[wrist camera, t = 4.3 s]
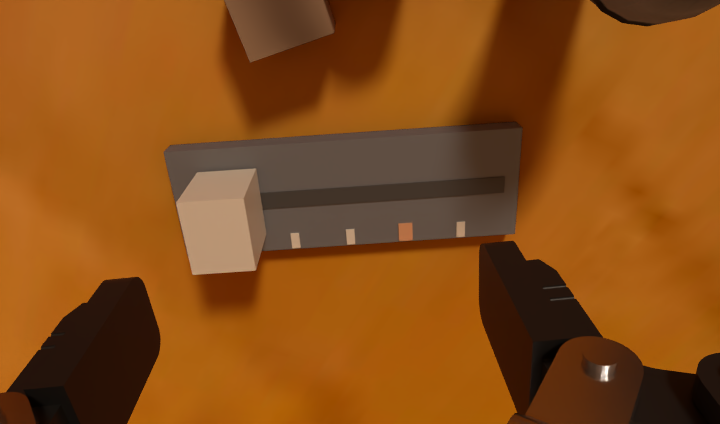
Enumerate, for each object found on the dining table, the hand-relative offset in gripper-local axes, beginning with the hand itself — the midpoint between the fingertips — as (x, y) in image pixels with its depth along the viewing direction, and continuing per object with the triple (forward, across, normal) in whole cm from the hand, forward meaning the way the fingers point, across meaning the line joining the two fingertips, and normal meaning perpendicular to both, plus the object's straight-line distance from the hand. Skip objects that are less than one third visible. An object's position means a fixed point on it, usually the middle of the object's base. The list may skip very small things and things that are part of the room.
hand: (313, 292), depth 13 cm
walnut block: (+25, +2, -5) cm, 26 cm away
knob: (+23, +8, +8) cm, 25 cm away
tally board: (+25, 0, +8) cm, 26 cm away
